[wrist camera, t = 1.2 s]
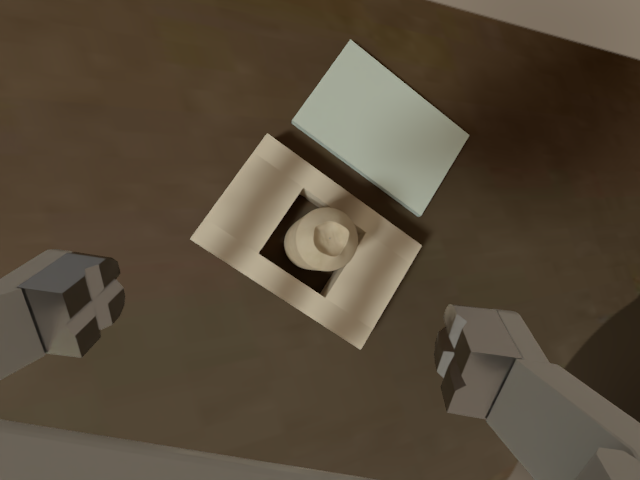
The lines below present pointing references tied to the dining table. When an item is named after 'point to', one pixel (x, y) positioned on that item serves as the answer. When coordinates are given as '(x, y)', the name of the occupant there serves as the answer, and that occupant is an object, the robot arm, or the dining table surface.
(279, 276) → the socket block
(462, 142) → the sage mat
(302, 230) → the candle
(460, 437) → the dining table surface
